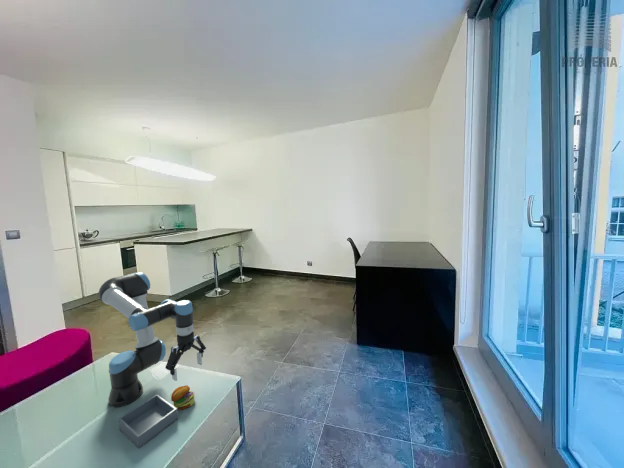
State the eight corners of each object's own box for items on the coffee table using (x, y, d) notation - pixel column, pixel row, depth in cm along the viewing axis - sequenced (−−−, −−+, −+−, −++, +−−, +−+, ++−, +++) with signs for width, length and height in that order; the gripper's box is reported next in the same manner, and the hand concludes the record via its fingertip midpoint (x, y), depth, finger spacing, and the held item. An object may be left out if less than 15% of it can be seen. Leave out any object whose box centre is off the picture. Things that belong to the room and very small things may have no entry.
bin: (119, 430, 122) (118, 418, 121) (158, 404, 137) (156, 394, 136) (139, 449, 113) (137, 437, 112) (178, 419, 128) (177, 408, 127)
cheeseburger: (187, 413, 132) (181, 395, 130) (170, 414, 134) (164, 396, 133) (199, 397, 141) (194, 380, 140) (183, 398, 144) (177, 382, 142)
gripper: (164, 347, 115) (167, 390, 119) (211, 323, 136) (213, 360, 140) (154, 342, 119) (158, 383, 123) (202, 319, 140) (204, 355, 144)
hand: (187, 371), depth 131 cm, fingers open, 13 cm apart
